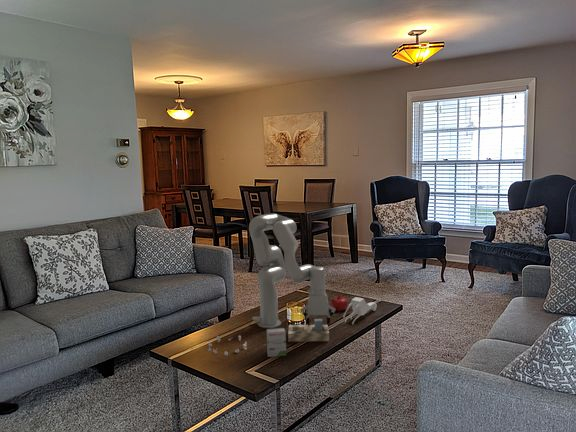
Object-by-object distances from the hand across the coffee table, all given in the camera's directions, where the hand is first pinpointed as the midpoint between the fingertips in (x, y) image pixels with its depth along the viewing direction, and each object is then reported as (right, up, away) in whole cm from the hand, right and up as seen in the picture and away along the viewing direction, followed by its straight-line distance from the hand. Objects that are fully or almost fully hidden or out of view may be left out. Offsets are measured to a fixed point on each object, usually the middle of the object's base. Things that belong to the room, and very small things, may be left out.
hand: (318, 324), depth 231 cm
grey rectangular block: (0, -6, +1) cm, 6 cm away
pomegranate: (+15, -1, +42) cm, 45 cm away
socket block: (-5, -6, +1) cm, 8 cm away
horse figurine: (+26, -3, +28) cm, 39 cm away
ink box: (-20, -9, -20) cm, 30 cm away
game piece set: (-44, -9, -10) cm, 46 cm away
